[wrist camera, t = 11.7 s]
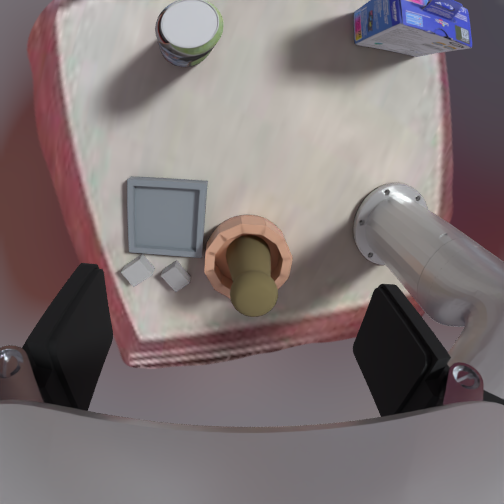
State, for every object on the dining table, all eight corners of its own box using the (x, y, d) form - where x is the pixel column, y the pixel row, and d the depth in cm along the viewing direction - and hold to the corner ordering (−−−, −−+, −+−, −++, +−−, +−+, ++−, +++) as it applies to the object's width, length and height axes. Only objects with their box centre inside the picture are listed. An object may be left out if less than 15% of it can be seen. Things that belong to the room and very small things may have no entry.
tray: (207, 181, 38) (206, 183, 37) (202, 252, 43) (201, 257, 41) (130, 176, 37) (127, 179, 36) (131, 247, 41) (129, 252, 40)
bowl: (292, 218, 41) (298, 228, 38) (279, 289, 46) (283, 302, 43) (209, 211, 40) (207, 220, 37) (204, 284, 45) (203, 298, 42)
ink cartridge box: (415, 23, 30) (482, 6, 17) (417, 57, 32) (488, 51, 19) (351, 8, 29) (407, -26, 16) (354, 45, 31) (413, 23, 18)
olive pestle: (242, 282, 44) (247, 333, 34) (216, 250, 42) (214, 297, 32) (278, 260, 43) (294, 307, 33) (255, 226, 41) (264, 267, 31)
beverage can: (164, 24, 29) (139, -6, 18) (225, 22, 30) (225, -12, 19) (161, 71, 32) (134, 57, 21) (223, 69, 32) (221, 52, 22)
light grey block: (143, 252, 42) (139, 259, 40) (155, 267, 43) (152, 275, 41) (125, 264, 43) (120, 272, 41) (137, 279, 44) (133, 286, 42)
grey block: (191, 275, 44) (189, 283, 43) (177, 284, 45) (175, 292, 43) (177, 259, 43) (174, 266, 41) (163, 268, 44) (160, 275, 42)
